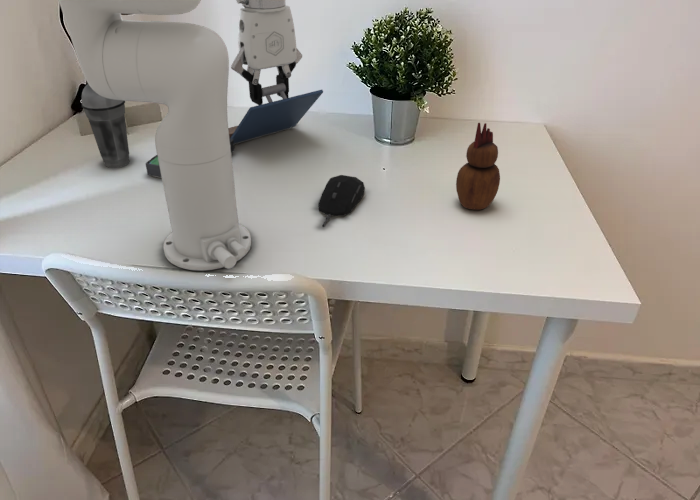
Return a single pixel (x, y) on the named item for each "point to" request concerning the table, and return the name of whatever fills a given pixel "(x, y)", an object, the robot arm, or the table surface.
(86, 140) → the table surface
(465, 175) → the wooden figurine
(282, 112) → the sign
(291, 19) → the robot arm
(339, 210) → the gaming mouse
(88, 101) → the beverage cup
